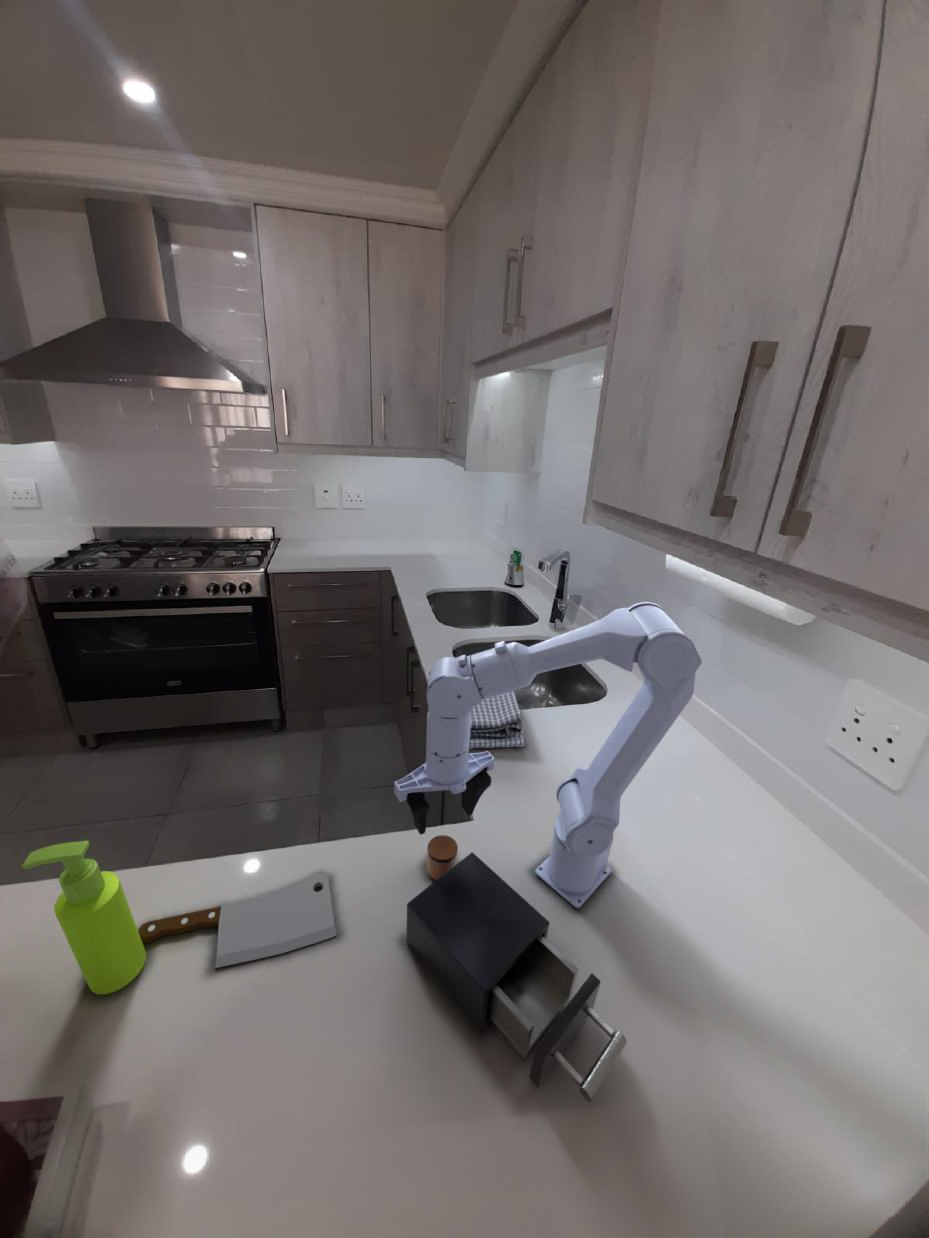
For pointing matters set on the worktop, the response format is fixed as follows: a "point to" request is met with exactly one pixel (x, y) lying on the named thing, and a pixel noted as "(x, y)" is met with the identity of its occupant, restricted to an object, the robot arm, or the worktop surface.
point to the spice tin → (441, 856)
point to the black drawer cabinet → (471, 932)
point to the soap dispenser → (94, 918)
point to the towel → (496, 723)
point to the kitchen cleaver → (259, 923)
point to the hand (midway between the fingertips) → (443, 819)
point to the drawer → (550, 1014)
